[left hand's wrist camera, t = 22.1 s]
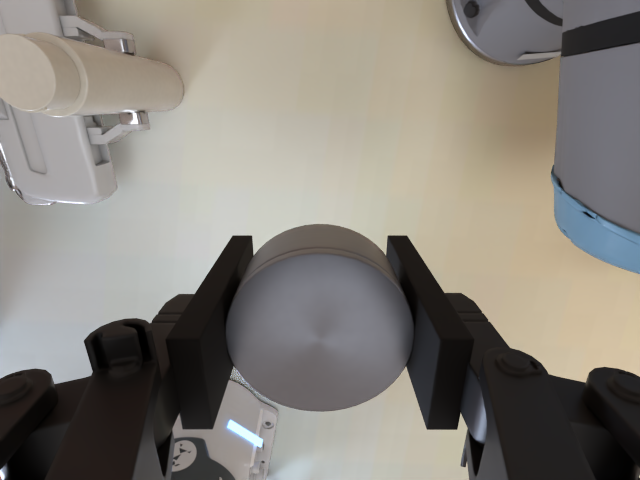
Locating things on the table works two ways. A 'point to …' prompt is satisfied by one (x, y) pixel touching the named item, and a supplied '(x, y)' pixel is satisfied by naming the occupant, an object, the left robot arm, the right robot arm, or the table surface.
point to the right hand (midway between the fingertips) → (139, 83)
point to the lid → (319, 320)
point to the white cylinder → (82, 78)
